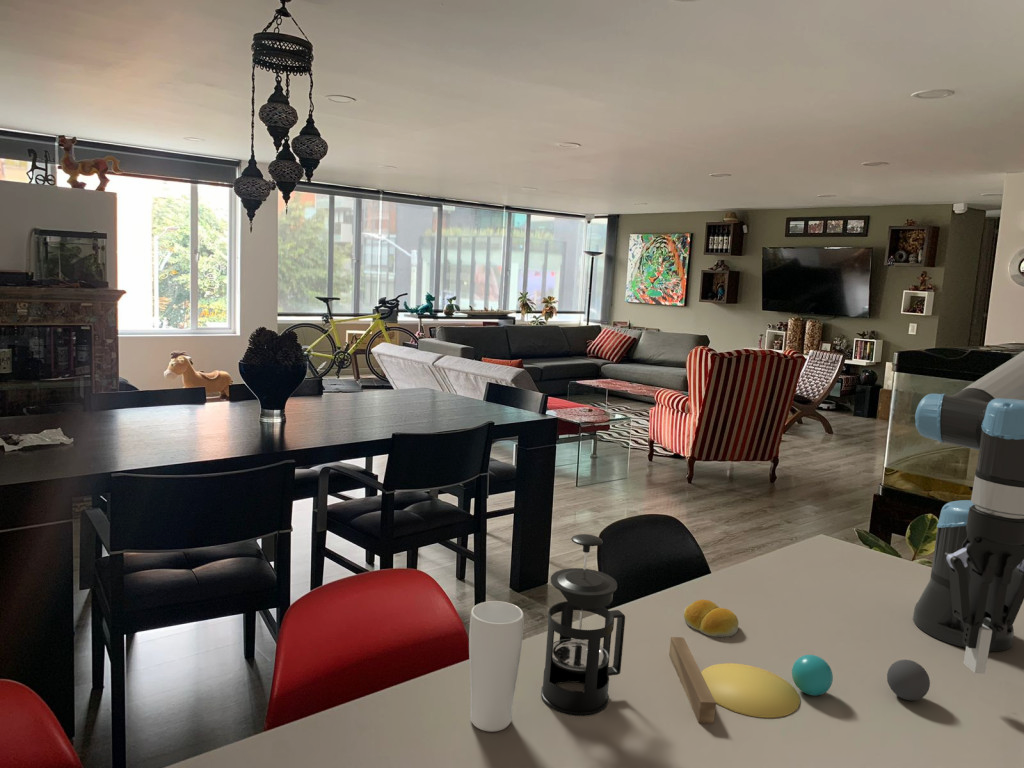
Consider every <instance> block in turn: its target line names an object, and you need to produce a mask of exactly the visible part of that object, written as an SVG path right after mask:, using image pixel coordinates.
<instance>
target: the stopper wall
mask: <svg viewBox="0 0 1024 768" xmlns="http://www.w3.org/2000/svg"><path fill="white" fill-rule="evenodd" d="M669 643H670V644H669V653H668V655H669V657H670V659H671V664H672V665H673V667H674V670H675V671H676V674H677V676H678V679H679V681H680V683H681V686H682V688H683V690H684V692H685V695H686V697H687V700H688V703H689V705H690V707H691V709H692V712H693V713H694V715H695V716H694V717H696V720H697V722H698V724H710V725H711V724H714V722H715V715H716V705H717V703H716V702H715V700H714V698H713V696H712V694H711V692H710V690H709V688H708V686H707V684H706V682H705V680H704V678H703V676H702V674H701V672H702V671H701V670H700V668H699V666H698V663H697V661H696V660H695V658H694V656H693V654H692V651H691V649H690V647H689V645H688V643H687V641H686V639H685V637H682V636H681V637H680V636H670V642H669Z"/></svg>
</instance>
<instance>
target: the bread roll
mask: <svg viewBox="0 0 1024 768" xmlns="http://www.w3.org/2000/svg"><path fill="white" fill-rule="evenodd" d="M682 615H683V619H684V621H685V623H686V624H687V625H688V627H690V628H692V629H694V630H696V631H699V632H700V633H701V634H703V635H706V636H708V637H715V638H719V637H720V638H725V636H726V637H727V636H729V637H732V636H734V635H735V634H736V633H737V632H738V627H739V619H738V617H737V615H736V614H735V613H734V612H733V611H732V610H730V609H727V608H724V607H720V606H718V604H716V603H715V602H713V601H711V600H707V599H698V600H695V601H694V602H692V603H690V604H689V605H687V606H686V607H685V608H684V609H683V614H682ZM723 636H724V637H723Z"/></svg>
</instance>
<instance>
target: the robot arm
mask: <svg viewBox="0 0 1024 768" xmlns="http://www.w3.org/2000/svg"><path fill="white" fill-rule="evenodd" d="M914 421H915V428H916V431H917V432H918V433H919V435H920V436H921V437H924V438H926V439H928V440H929V439H930V440H934V441H937V442H940V443H941V444H950V445H954V446H959V447H963V448H968V449H972V450H977V451H978V454H977V456H978V457H977V463H976V469H975V474H974V481H973V487H972V492H971V496H970V497H971V498H970V499H969V500H968V499H966V500H965V499H964V500H963V499H962V500H961V499H960V500H954V501H949V502H946V503H945V504H944V505H943V506H942V508H941V510H940V514H939V518H938V519H939V520H938V521H937V524H936V528H937V529H936V536H935V543H934V544H935V545H934V550H933V557H932V564H931V565H932V566H931V572H930V578H929V581H928V583H927V584H926V587H925V588H924V590H923V592H922V594H921V596H920V597H919V599H918V601H917V602H916V604H914V609H913V616H912V621H913V623H914V624H915V626H916V627H917V628H918V629H920V630H921V631H922V632H924V633H925V634H928V635H929V636H931V637H933V638H936V639H937V640H939V641H942V642H945V643H947V644H949V645H954V646H957V647H960V648H965V652H964V656H963V657H964V658H963V663H962V664H964V665H965V666H966V667H967V668H968V669H970V670H971V671H972V672H973V673H974V674H986V671H987V665H988V664H987V663H988V658H989V652H1002V651H1005V650H1009V649H1010V648H1011V647H1012V646H1013V642H1014V637H1015V630H1014V629H1015V628H1014V623H1015V621H1016V618H1017V616H1018V614H1019V612H1020V609H1021V607H1022V605H1023V602H1024V350H1023V351H1022V352H1020V353H1018V354H1016V355H1015V356H1013V357H1012V358H1011V359H1009V360H1007V361H1006V362H1004V363H1002V364H1000V365H999V366H997V367H995V369H994V370H991V371H990V372H988V373H986V374H985V375H984V376H982V377H980V378H979V379H977V380H975V381H974V382H972V383H971V384H969V385H967V386H966V387H964V388H963V389H961V390H960V391H958V392H957V393H954V395H949V394H946V393H928V394H926V395H925V396H924V397H923V398H922V399H921V400H920V401H919V403H918V404H917V407H916V410H915V414H914Z"/></svg>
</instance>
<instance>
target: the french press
mask: <svg viewBox="0 0 1024 768" xmlns="http://www.w3.org/2000/svg"><path fill="white" fill-rule="evenodd" d="M570 539H571V541H572V542H573V543H574V544H576V545H579V546H582V552H583V553H584V558H583V559H584V561H583V567H582V568H581V567H579V568H578V567H575V568H574V567H572V568H571V567H570V568H564V569H560V570H557V571H555V572H554V573H552V575H551V576H550V583H551V585H552V586H553V587H554V588H555V589H556V590H558V591H559V592H560V593H561V594H562V595H563V597H564V598H565V600H566V601H561V602H557V603H555V604H553V605H552V606H550V607H549V609H548V612H547V634H546V635H547V636H546V647H545V649H546V650H545V663H544V670H543V679H542V680H543V681H542V686H541V689H540V697H541V699H542V701H543V703H544V704H545V705H546V706H547V707H549V708H550V709H551V710H553V711H556V712H558V713H561V714H565V715H568V716H572V717H573V716H574V717H588V716H592V715H593V716H594V715H596V714H599V713H601V712H603V711H605V709H606V708H607V707H608V705H609V702H610V696H609V682H610V677H612V676H617V675H620V674H621V671H622V659H623V646H624V636H625V624H626V616H625V615H626V614H625V613H623V612H622V611H621V610H620V609H615V610H609V609H608V608H606V607H608V606H610V604H612V602H613V596H614V592H616V590H617V589H618V583H617V580H616V579H615V578H614V577H612V576H611V575H609V574H607V573H604V572H602V571H599V570H595V569H589V568H587V563H588V562H587V561H588V553H590V551H591V547H597V546H600V545H602V544H603V542H604V541H603V539H602V538H601V537H598V536H596V535H594V534H588V533H579V534H575V535H573V536H572V537H571V538H570ZM574 611H579V619H578V621H579V623H578V628H573V618H574V617H573V616H574ZM583 612H587V613H591V614H592V613H593V614H596V615H598V616H601V617H602V618H604V627H601V628H597V629H582V626H583V625H582V624H583ZM557 613H561V614H560V616H561V617H560V623H559V622H557V621H556V620H555V619H553V616H554V615H556V614H557ZM615 619H616V629H615V638H614V639H615V640H614V651H613V662H612V665H611V666H609V665H610V656H611V655H610V654H611V642H612V633H613V631H614V625H615ZM555 633H556V634H558V635H559V640H556V641H554V639H555ZM602 639H603V643H602V645H601V640H602ZM564 682H565V683H567V682H573V683H580V684H584V685H583V691H577V690H570V689H566V688H563V687H561V686H559V685H558V684H562V683H564Z"/></svg>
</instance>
